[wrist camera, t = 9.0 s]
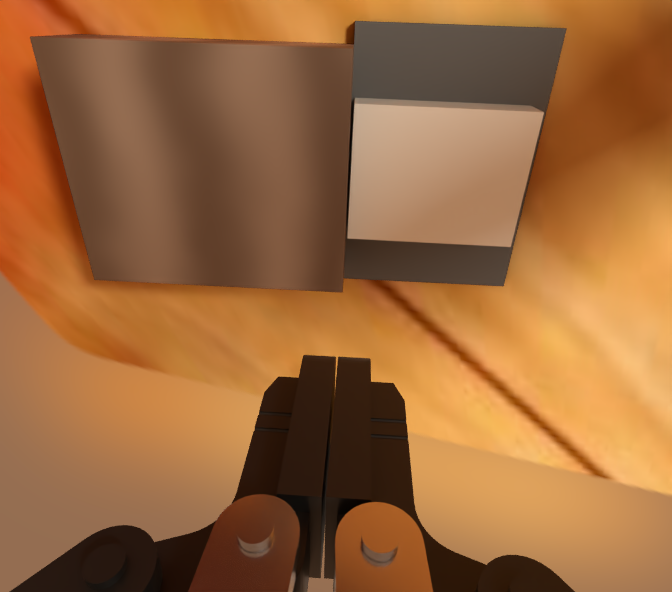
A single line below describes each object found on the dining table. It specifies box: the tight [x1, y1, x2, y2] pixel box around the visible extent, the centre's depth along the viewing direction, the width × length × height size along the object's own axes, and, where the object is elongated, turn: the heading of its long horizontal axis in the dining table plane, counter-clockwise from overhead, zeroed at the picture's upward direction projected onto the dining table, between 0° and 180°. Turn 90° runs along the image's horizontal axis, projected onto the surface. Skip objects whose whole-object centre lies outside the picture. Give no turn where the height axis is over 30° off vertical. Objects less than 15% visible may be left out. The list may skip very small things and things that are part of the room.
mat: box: [344, 21, 567, 286], centre depth 26 cm, size 10×14×1 cm
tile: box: [347, 98, 544, 247], centre depth 25 cm, size 9×7×2 cm
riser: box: [30, 34, 354, 292], centre depth 25 cm, size 14×12×4 cm
